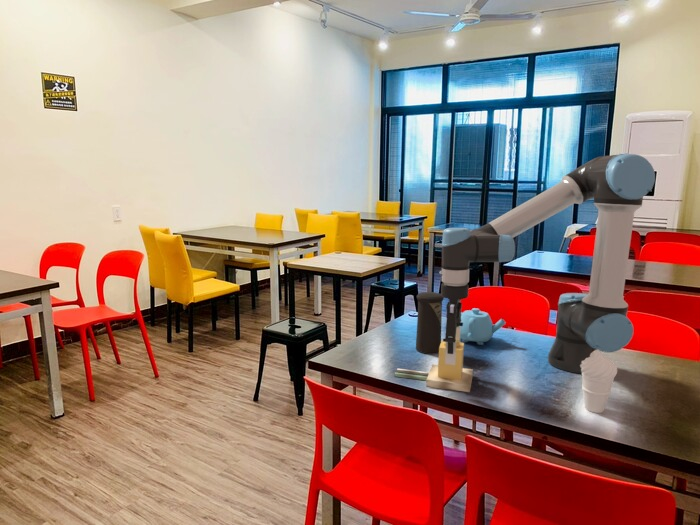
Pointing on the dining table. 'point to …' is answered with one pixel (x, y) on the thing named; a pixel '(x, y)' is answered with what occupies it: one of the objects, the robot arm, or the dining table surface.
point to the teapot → (477, 326)
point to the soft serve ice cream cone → (597, 380)
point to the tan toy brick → (448, 369)
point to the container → (429, 322)
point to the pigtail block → (439, 378)
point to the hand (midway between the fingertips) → (452, 355)
